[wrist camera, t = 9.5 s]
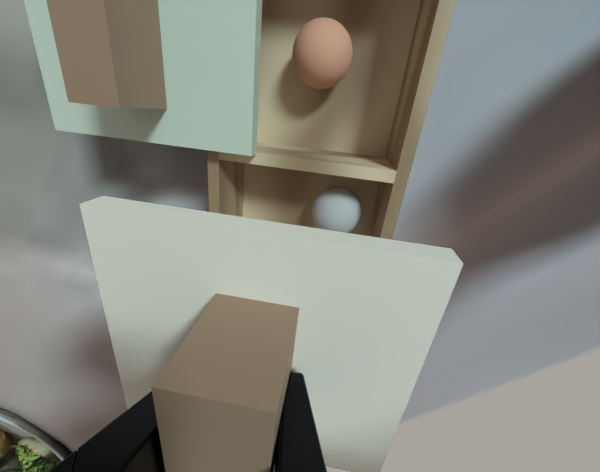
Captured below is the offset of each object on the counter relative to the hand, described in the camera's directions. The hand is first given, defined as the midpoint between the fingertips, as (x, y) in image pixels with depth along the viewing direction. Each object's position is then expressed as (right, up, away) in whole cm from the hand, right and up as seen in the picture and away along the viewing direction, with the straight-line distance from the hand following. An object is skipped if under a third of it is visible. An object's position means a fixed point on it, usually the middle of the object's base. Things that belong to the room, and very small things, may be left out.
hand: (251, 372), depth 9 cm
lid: (0, 0, +1) cm, 1 cm away
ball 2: (+4, +6, +9) cm, 11 cm away
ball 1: (+3, +13, +5) cm, 15 cm away
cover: (-5, +13, +4) cm, 15 cm away
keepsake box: (+2, +9, +9) cm, 13 cm away
